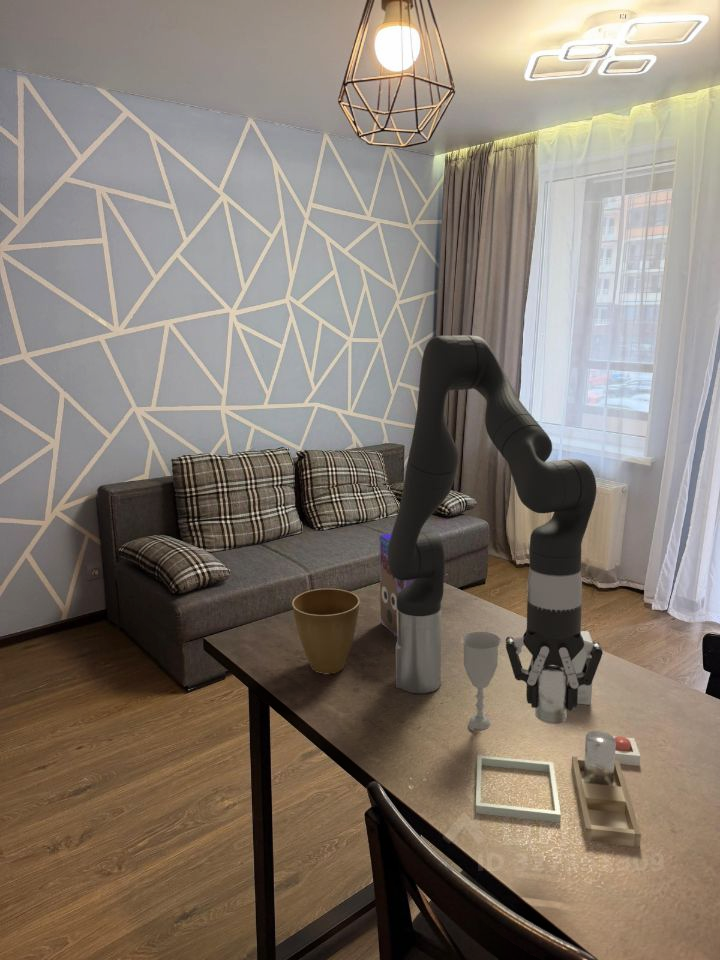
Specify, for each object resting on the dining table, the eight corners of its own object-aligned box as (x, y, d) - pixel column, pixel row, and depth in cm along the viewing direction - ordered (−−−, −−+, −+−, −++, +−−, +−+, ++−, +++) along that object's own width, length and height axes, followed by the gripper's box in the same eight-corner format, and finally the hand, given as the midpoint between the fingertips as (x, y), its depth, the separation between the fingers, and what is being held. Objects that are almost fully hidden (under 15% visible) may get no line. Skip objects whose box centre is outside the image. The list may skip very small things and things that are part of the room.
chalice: (475, 743, 118) (476, 652, 115) (453, 725, 124) (453, 637, 120) (506, 732, 122) (508, 642, 118) (484, 714, 127) (485, 628, 124)
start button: (614, 757, 111) (615, 744, 111) (611, 748, 114) (612, 735, 113) (630, 758, 111) (631, 746, 110) (627, 749, 113) (628, 737, 113)
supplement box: (591, 705, 129) (594, 646, 127) (553, 702, 131) (555, 644, 128) (586, 686, 137) (589, 630, 134) (550, 683, 138) (552, 628, 135)
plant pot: (283, 677, 144) (279, 609, 140) (313, 647, 157) (310, 585, 154) (345, 688, 138) (343, 618, 135) (371, 657, 152) (369, 592, 148)
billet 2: (585, 791, 103) (588, 746, 102) (581, 773, 108) (583, 729, 106) (615, 794, 103) (618, 749, 101) (610, 776, 107) (613, 732, 105)
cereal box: (380, 623, 170) (378, 534, 165) (397, 619, 172) (395, 532, 167) (414, 650, 154) (413, 554, 149) (431, 646, 156) (431, 550, 151)
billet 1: (535, 722, 96) (536, 672, 94) (534, 706, 100) (535, 657, 99) (567, 725, 95) (569, 674, 93) (565, 708, 99) (566, 659, 98)
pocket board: (584, 847, 94) (585, 828, 93) (571, 773, 110) (572, 756, 109) (639, 853, 92) (641, 834, 92) (617, 777, 108) (618, 760, 108)
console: (607, 768, 111) (608, 753, 110) (603, 750, 115) (603, 735, 115) (639, 771, 110) (640, 755, 109) (633, 753, 114) (634, 738, 114)
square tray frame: (475, 819, 100) (475, 805, 99) (477, 768, 112) (477, 755, 111) (560, 829, 97) (560, 814, 97) (552, 775, 109) (553, 762, 109)
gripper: (503, 605, 92) (502, 716, 95) (610, 610, 89) (606, 724, 92) (503, 586, 99) (502, 690, 102) (602, 590, 96) (598, 697, 99)
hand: (551, 706), depth 97 cm, fingers closed on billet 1, 4 cm apart
